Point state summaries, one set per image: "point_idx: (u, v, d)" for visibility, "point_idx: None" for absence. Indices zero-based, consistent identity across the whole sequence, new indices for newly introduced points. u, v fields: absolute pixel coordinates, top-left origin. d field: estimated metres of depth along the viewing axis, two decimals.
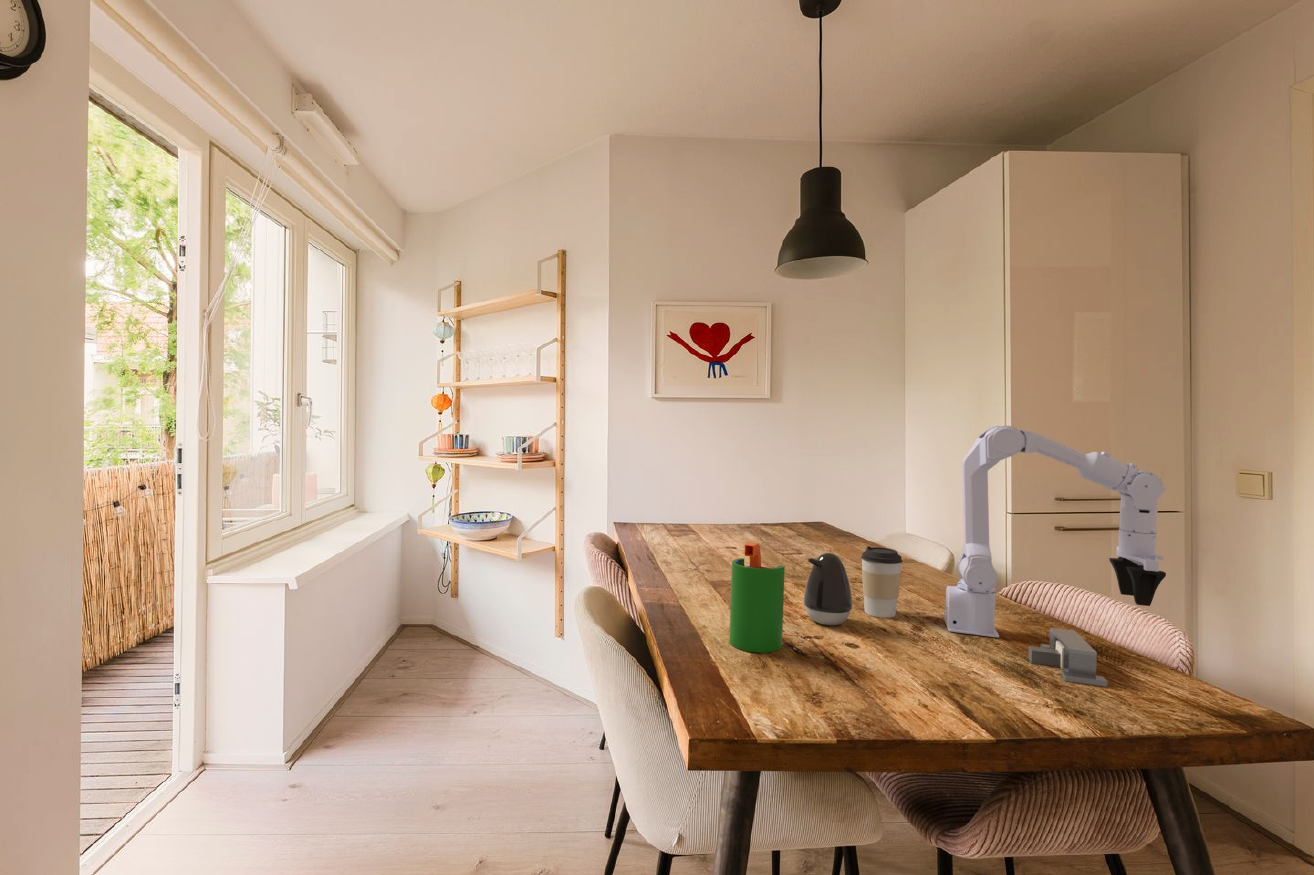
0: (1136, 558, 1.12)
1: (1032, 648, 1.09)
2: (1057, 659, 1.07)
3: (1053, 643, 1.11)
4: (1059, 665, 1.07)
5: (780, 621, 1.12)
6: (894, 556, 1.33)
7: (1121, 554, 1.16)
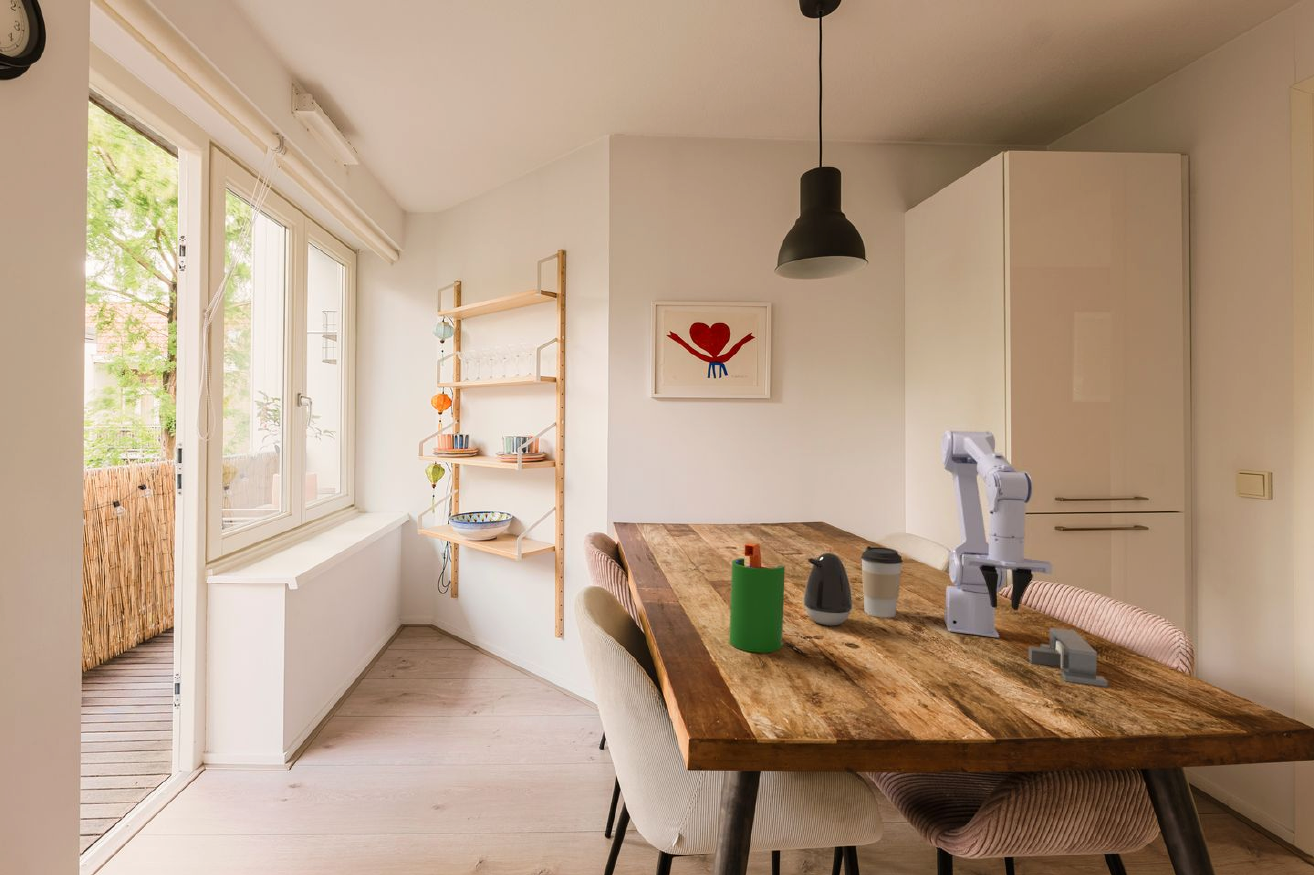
0: None
1: (1032, 648, 1.09)
2: (1057, 659, 1.07)
3: (1053, 643, 1.11)
4: (1059, 665, 1.07)
5: (780, 621, 1.12)
6: (894, 556, 1.33)
7: None
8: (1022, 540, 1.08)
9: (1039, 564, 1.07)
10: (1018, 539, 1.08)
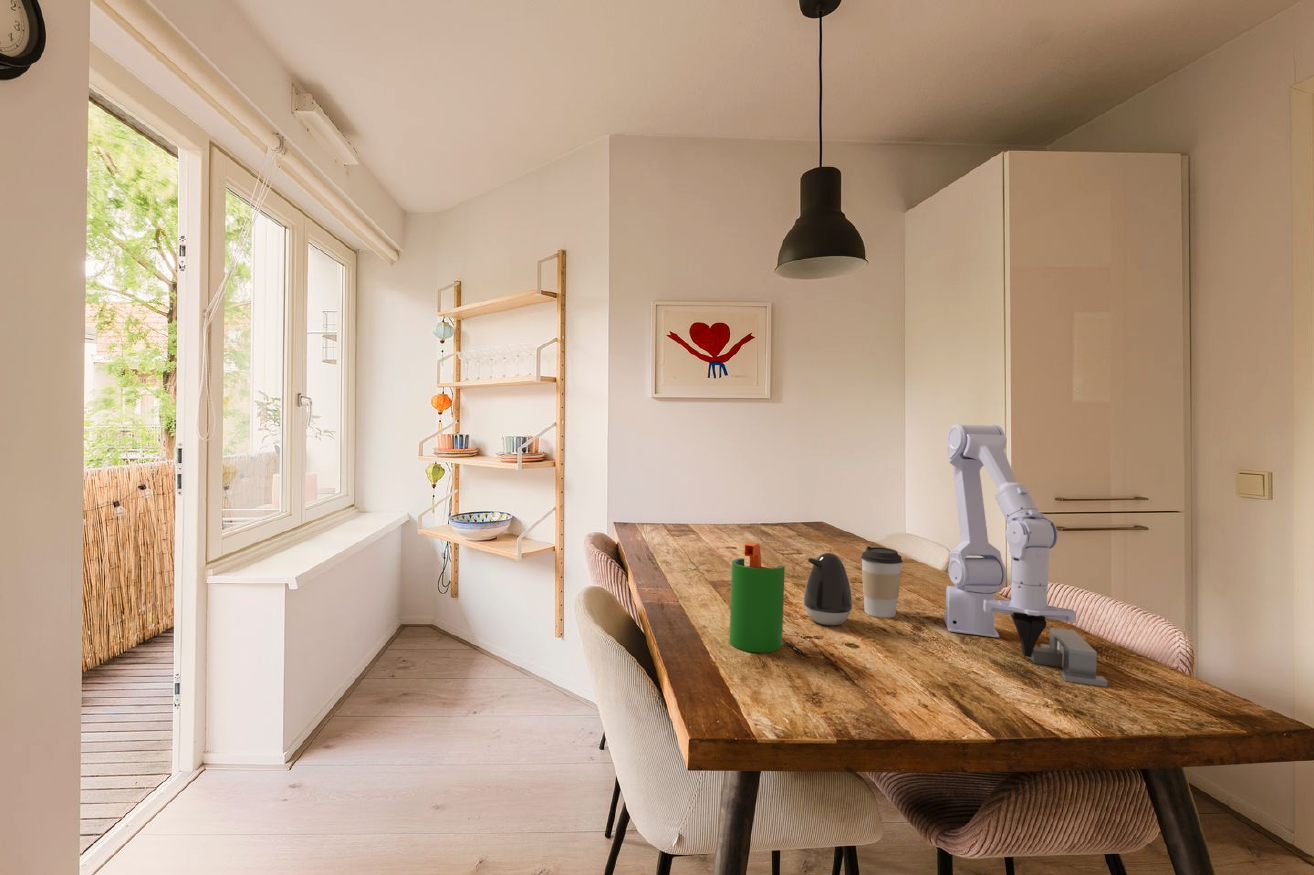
0: None
1: (1034, 648, 1.09)
2: (1059, 659, 1.07)
3: (1053, 643, 1.11)
4: (1061, 665, 1.07)
5: (780, 621, 1.12)
6: (894, 556, 1.33)
7: None
8: (1045, 588, 1.07)
9: (1063, 612, 1.06)
10: (1041, 587, 1.06)
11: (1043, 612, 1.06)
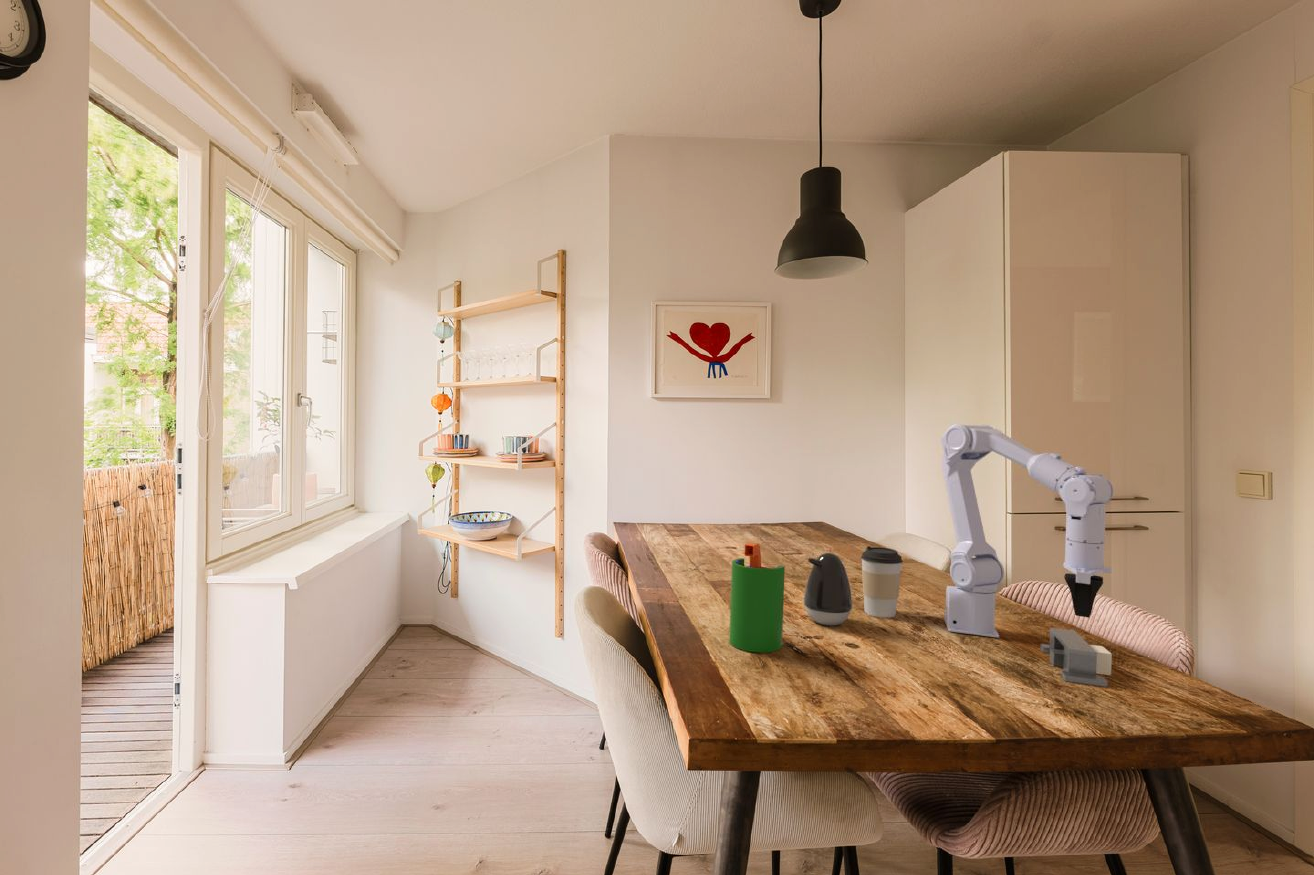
0: (1072, 569, 1.03)
1: (1054, 651, 1.08)
2: None
3: (1053, 643, 1.11)
4: None
5: (780, 621, 1.12)
6: (894, 556, 1.33)
7: (1064, 565, 1.07)
8: None
9: None
10: None
11: None
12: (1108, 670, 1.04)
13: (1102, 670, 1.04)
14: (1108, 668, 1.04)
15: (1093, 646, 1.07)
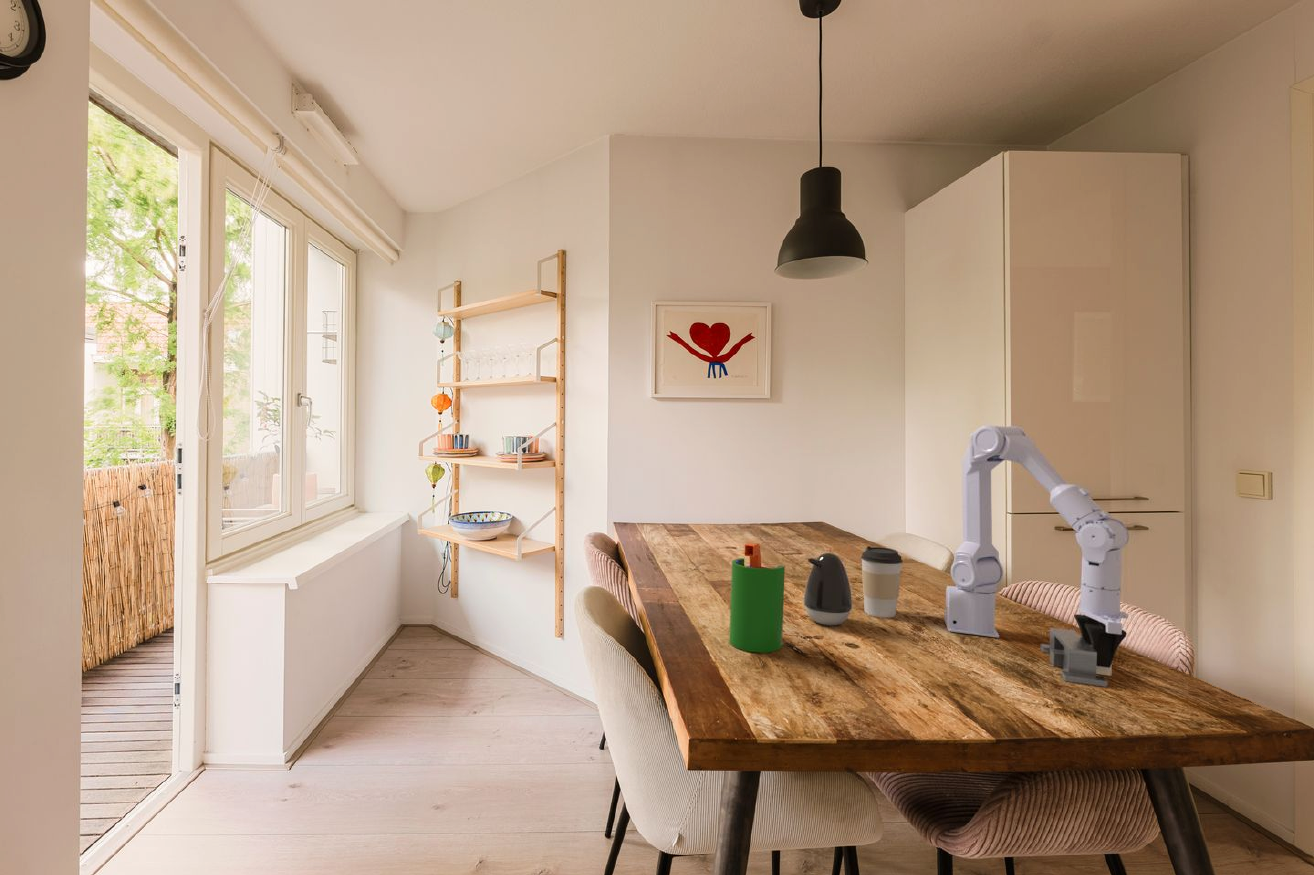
0: (1098, 618, 1.02)
1: (1054, 651, 1.08)
2: None
3: (1053, 643, 1.11)
4: None
5: (780, 621, 1.12)
6: (894, 556, 1.33)
7: (1083, 611, 1.05)
8: None
9: None
10: None
11: None
12: (1108, 670, 1.03)
13: (1102, 670, 1.04)
14: (1108, 668, 1.03)
15: None
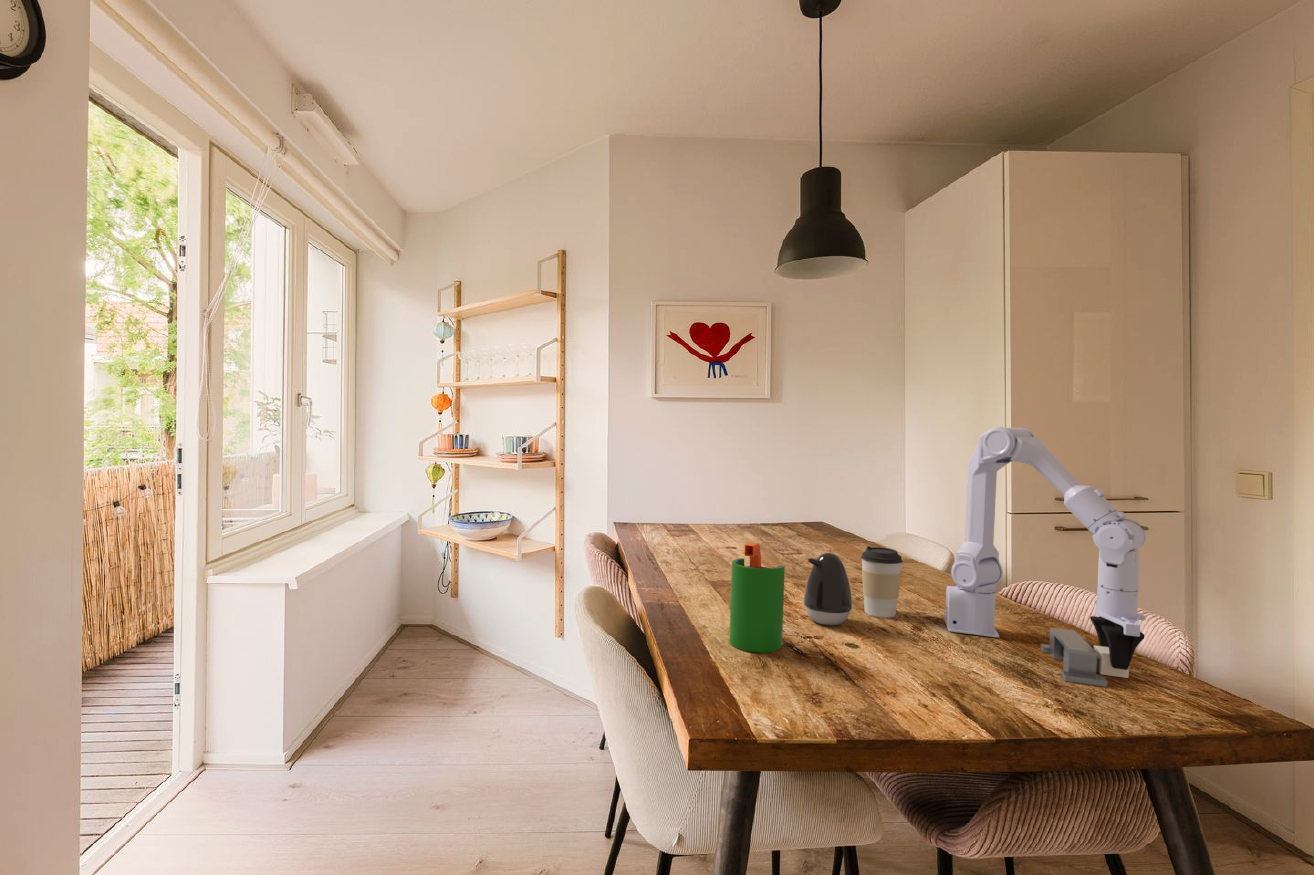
0: (1115, 620, 1.01)
1: None
2: (1096, 664, 1.05)
3: (1053, 643, 1.11)
4: (1098, 670, 1.05)
5: (780, 621, 1.12)
6: (894, 556, 1.33)
7: (1099, 613, 1.04)
8: None
9: None
10: None
11: None
12: (1125, 673, 1.03)
13: (1119, 673, 1.03)
14: (1125, 671, 1.03)
15: None
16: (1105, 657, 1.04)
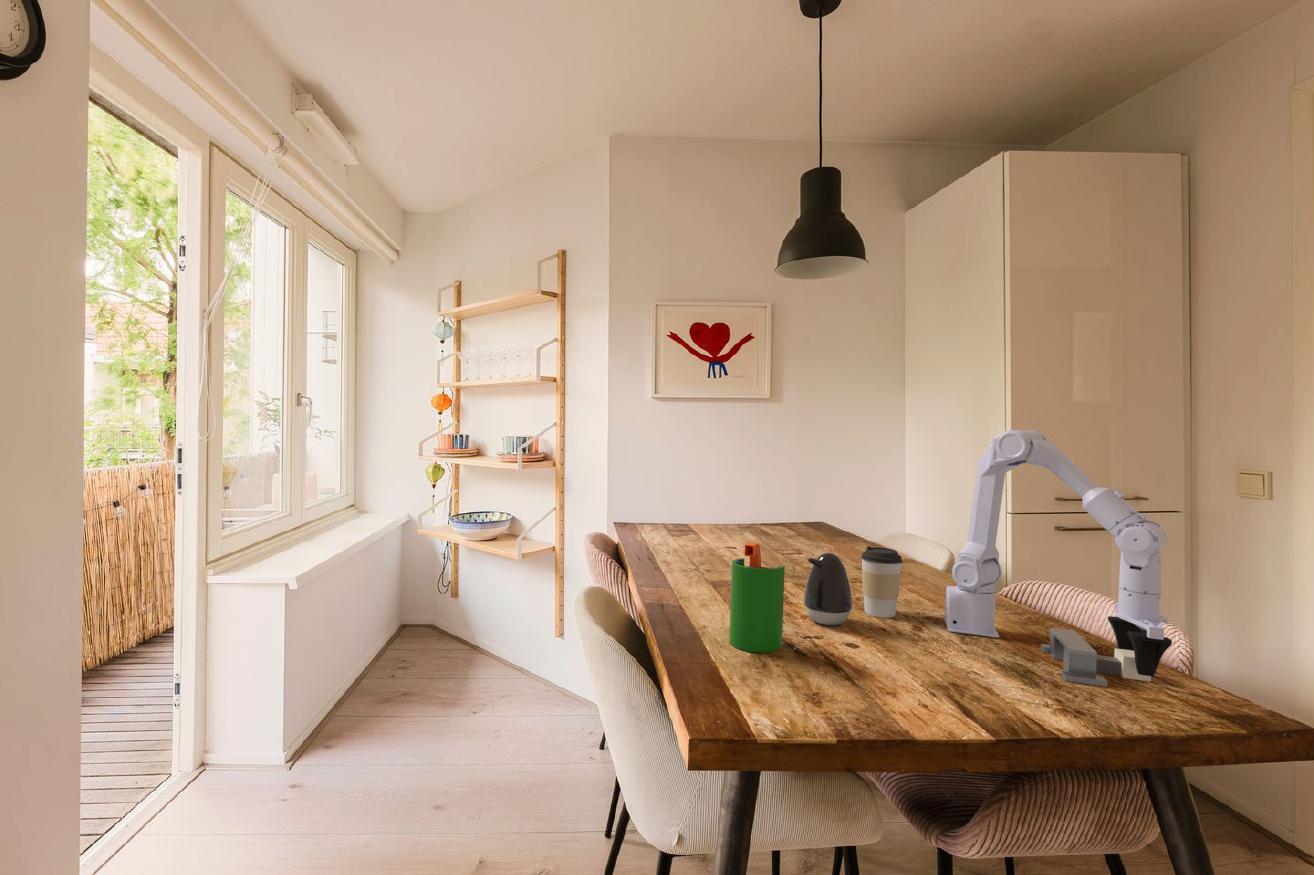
0: (1138, 622, 1.00)
1: None
2: (1117, 667, 1.04)
3: (1053, 643, 1.11)
4: (1120, 674, 1.03)
5: (780, 621, 1.12)
6: (894, 556, 1.33)
7: (1121, 616, 1.03)
8: None
9: None
10: None
11: None
12: (1148, 676, 1.01)
13: (1141, 676, 1.02)
14: None
15: (1132, 651, 1.05)
16: (1127, 661, 1.02)
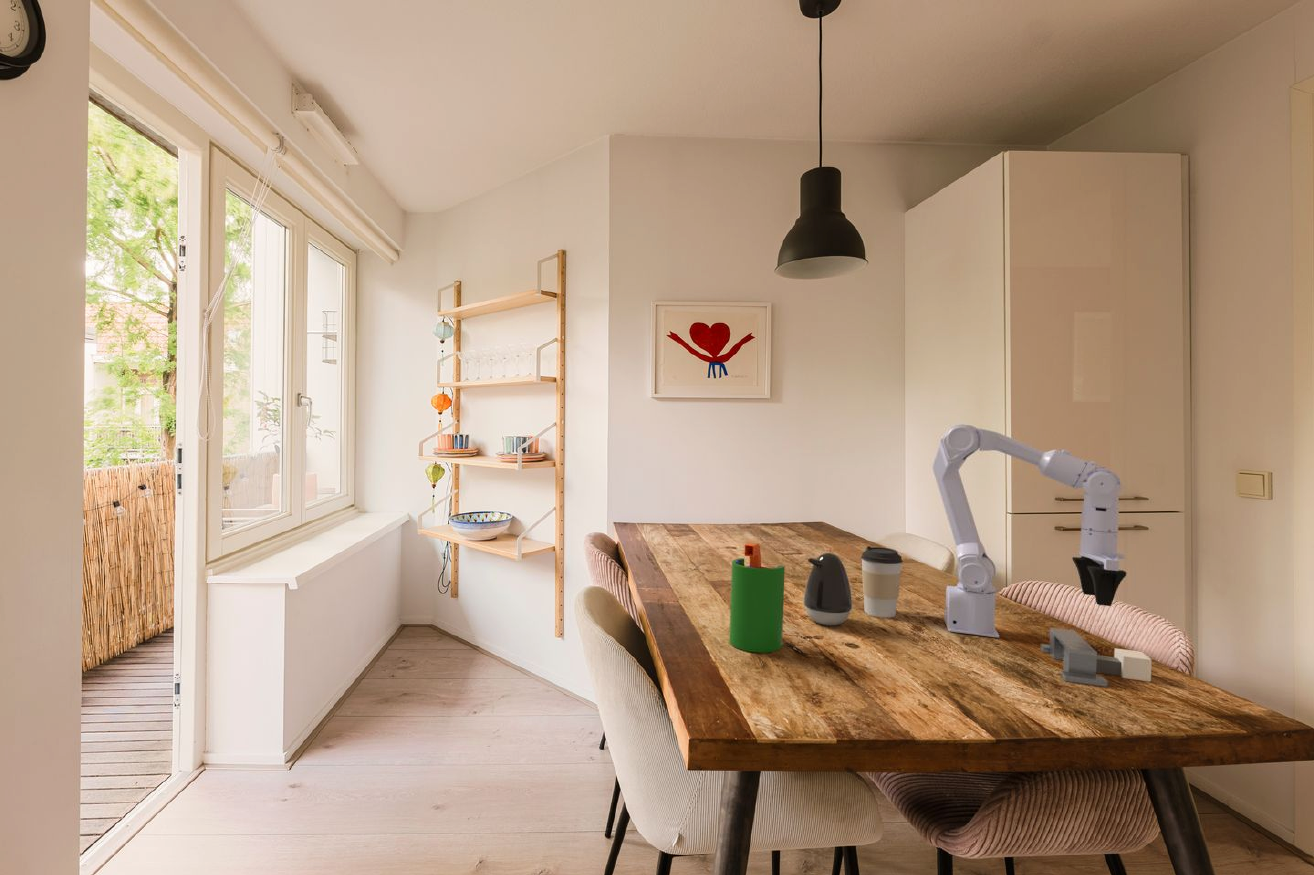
0: (1097, 557, 1.10)
1: None
2: (1117, 667, 1.04)
3: (1053, 643, 1.11)
4: (1120, 674, 1.03)
5: (780, 621, 1.12)
6: (894, 556, 1.33)
7: (1083, 553, 1.14)
8: None
9: None
10: None
11: None
12: (1148, 676, 1.01)
13: (1141, 676, 1.02)
14: (1148, 674, 1.01)
15: (1132, 651, 1.05)
16: (1127, 661, 1.02)
